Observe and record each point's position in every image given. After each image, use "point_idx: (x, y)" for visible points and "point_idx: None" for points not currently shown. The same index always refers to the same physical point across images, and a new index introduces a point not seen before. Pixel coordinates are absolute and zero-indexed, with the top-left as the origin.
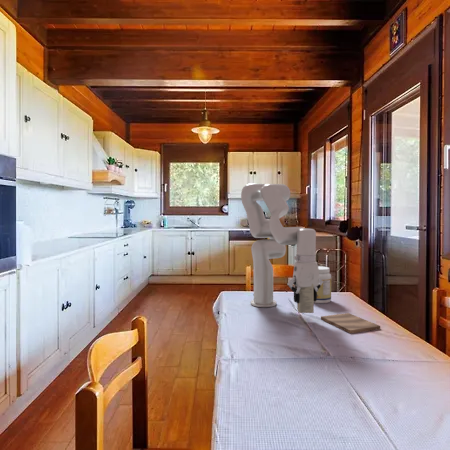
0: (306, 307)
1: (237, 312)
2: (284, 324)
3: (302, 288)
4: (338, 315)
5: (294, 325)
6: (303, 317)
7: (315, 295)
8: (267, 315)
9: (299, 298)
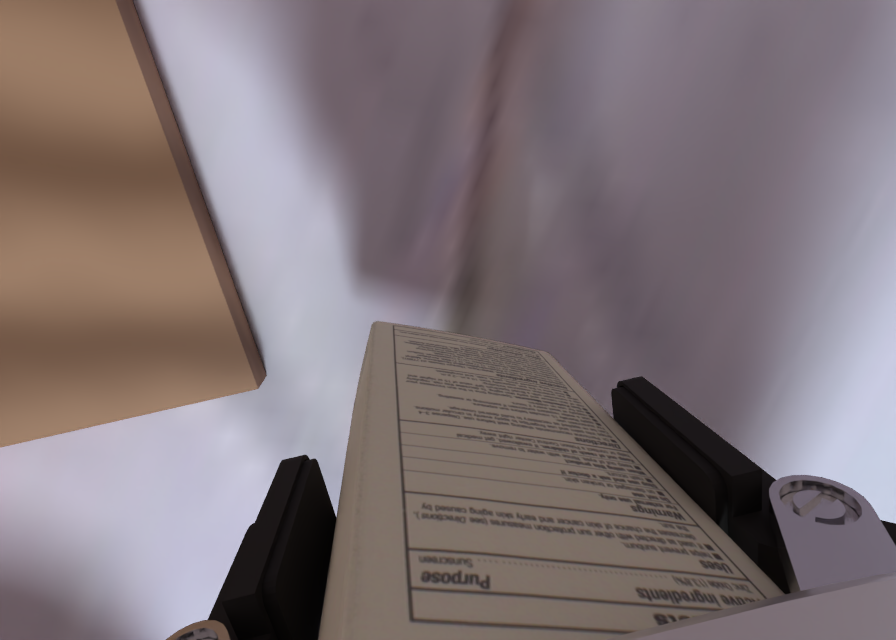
0: (474, 360)
1: None
2: (675, 273)
3: None
4: (31, 401)
5: (599, 230)
6: None
7: (277, 526)
8: None
9: (656, 419)
